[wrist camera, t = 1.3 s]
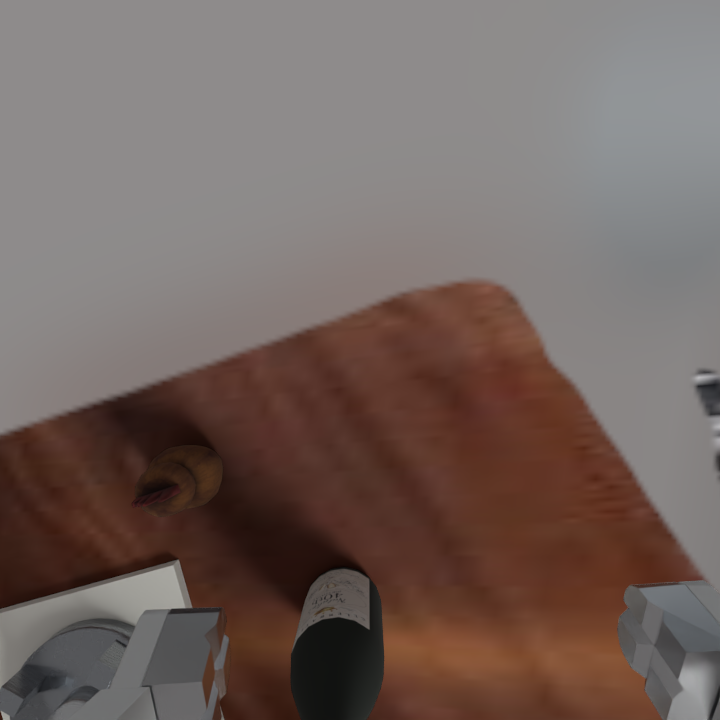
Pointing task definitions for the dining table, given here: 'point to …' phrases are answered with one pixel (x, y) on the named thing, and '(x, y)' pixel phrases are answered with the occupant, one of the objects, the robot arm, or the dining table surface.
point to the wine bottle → (338, 648)
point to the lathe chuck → (66, 671)
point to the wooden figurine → (179, 480)
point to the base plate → (87, 610)
